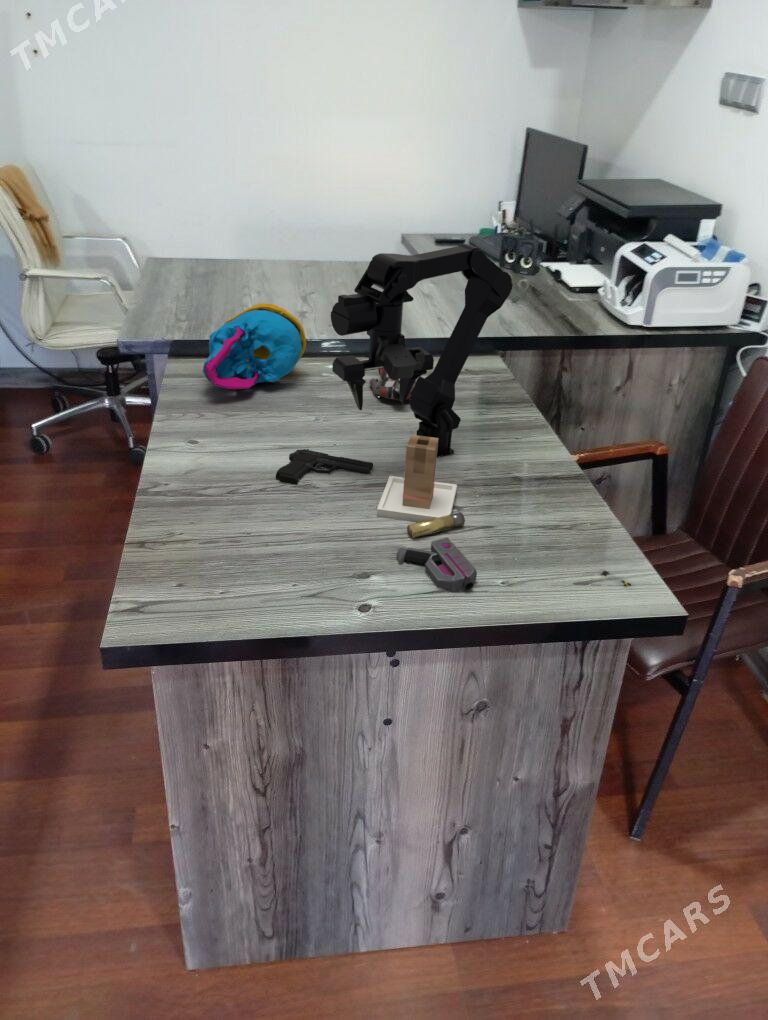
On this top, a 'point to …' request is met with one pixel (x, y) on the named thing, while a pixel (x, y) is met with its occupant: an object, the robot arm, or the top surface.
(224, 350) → the anatomical model
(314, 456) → the handgun
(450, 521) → the bullet cartridge
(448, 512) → the tray
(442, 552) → the toy gun
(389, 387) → the action figure
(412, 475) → the brown tall hollow block
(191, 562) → the top surface
